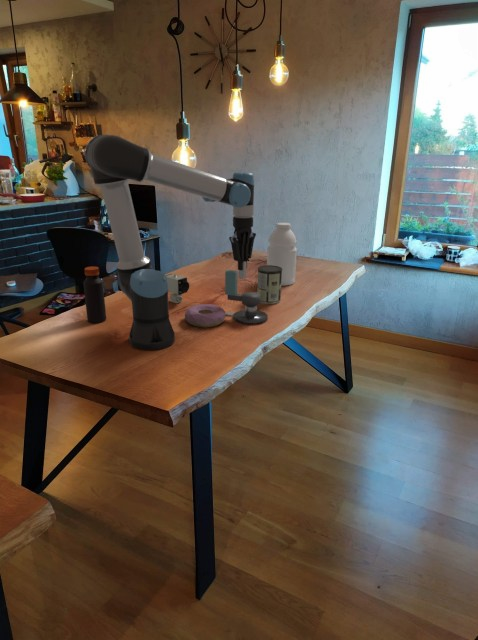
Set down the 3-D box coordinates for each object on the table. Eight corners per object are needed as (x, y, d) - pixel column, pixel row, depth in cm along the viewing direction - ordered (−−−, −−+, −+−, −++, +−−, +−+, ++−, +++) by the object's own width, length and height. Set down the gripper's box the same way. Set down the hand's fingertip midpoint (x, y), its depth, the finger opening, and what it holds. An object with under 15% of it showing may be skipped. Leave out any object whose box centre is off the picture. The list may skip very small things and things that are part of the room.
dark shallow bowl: (260, 326, 166) (261, 311, 164) (219, 319, 172) (219, 304, 170) (272, 315, 177) (272, 300, 175) (233, 308, 183) (233, 294, 181)
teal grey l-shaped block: (262, 301, 174) (263, 271, 170) (257, 306, 168) (258, 276, 163) (229, 296, 178) (229, 268, 173) (223, 302, 172) (223, 273, 167)
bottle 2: (265, 277, 226) (268, 220, 216) (293, 278, 226) (297, 221, 216) (266, 285, 213) (268, 225, 203) (295, 286, 213) (300, 226, 203)
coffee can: (266, 294, 201) (268, 263, 196) (285, 300, 194) (287, 268, 189) (251, 300, 194) (252, 268, 189) (270, 306, 187) (271, 273, 182)
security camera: (182, 306, 185) (181, 278, 180) (162, 300, 191) (160, 272, 187) (191, 303, 189) (190, 275, 185) (171, 297, 196) (170, 270, 191)
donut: (184, 314, 177) (184, 302, 175) (223, 313, 179) (223, 301, 177) (185, 330, 163) (185, 317, 161) (227, 329, 165) (227, 316, 163)
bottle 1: (86, 324, 166) (80, 271, 158) (88, 317, 172) (82, 266, 165) (105, 323, 167) (100, 270, 160) (107, 316, 173) (102, 265, 166)
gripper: (246, 213, 174) (246, 272, 183) (223, 217, 165) (223, 279, 174) (262, 215, 170) (260, 276, 179) (239, 219, 161) (238, 283, 170)
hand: (242, 277), depth 176 cm, fingers closed
